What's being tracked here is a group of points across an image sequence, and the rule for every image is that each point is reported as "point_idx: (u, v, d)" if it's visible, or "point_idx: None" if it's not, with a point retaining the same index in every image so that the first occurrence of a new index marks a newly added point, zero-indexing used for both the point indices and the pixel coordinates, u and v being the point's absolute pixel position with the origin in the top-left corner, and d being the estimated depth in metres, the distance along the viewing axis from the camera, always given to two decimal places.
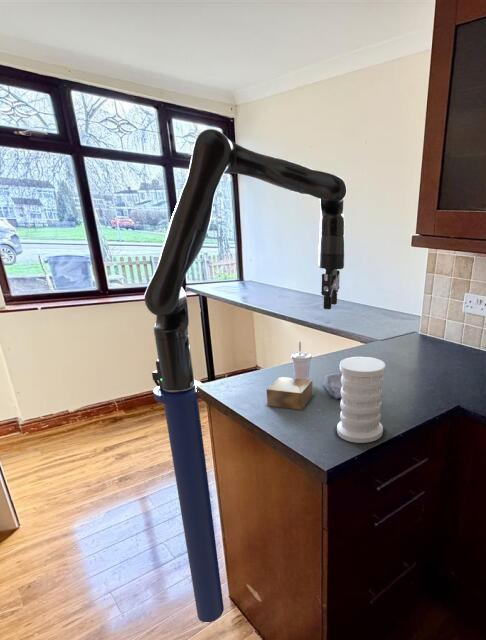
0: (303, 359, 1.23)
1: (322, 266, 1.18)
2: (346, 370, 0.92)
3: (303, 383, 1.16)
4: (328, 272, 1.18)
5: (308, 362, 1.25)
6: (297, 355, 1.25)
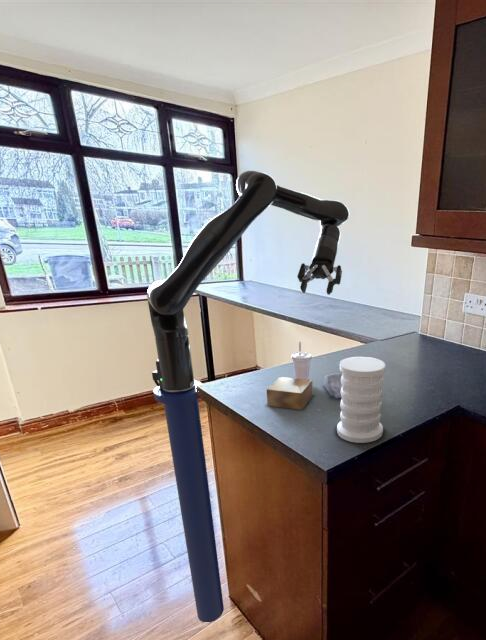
0: (303, 359, 1.23)
1: (330, 259, 1.34)
2: (346, 370, 0.92)
3: (303, 383, 1.16)
4: (332, 266, 1.35)
5: (308, 362, 1.25)
6: (297, 355, 1.25)
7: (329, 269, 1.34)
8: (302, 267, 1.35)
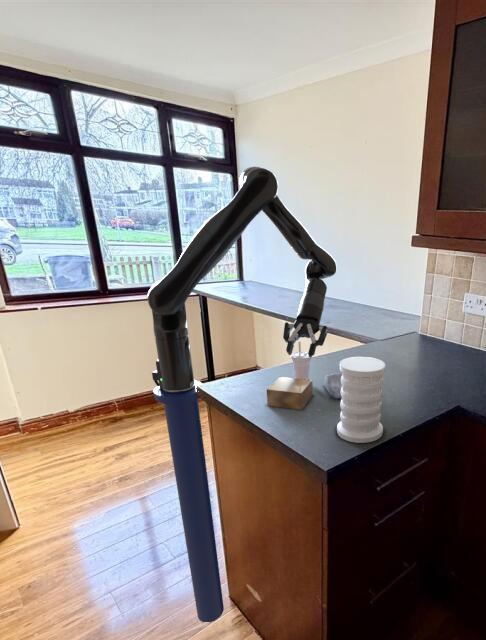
0: (303, 359, 1.23)
1: (316, 317, 1.26)
2: (346, 370, 0.92)
3: (303, 383, 1.16)
4: None
5: (308, 362, 1.25)
6: (297, 355, 1.25)
7: (315, 328, 1.26)
8: (286, 327, 1.27)
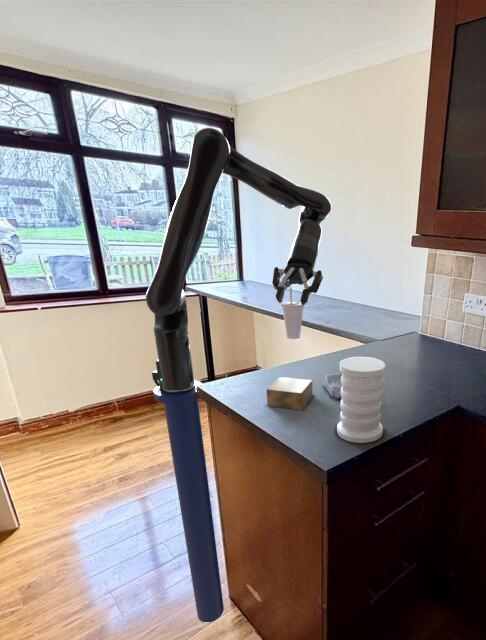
0: (294, 306, 1.09)
1: (310, 261, 1.12)
2: (346, 370, 0.92)
3: (303, 383, 1.16)
4: (312, 270, 1.13)
5: (300, 311, 1.11)
6: (288, 303, 1.11)
7: (308, 273, 1.12)
8: (276, 272, 1.13)
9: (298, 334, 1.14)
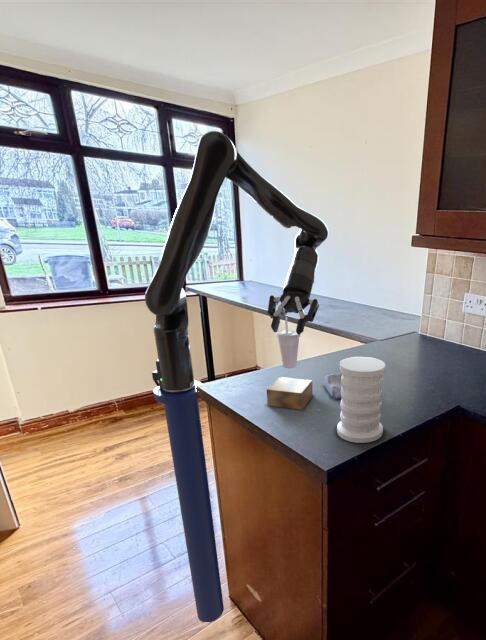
0: (290, 336, 1.07)
1: (306, 289, 1.10)
2: (346, 370, 0.92)
3: (303, 383, 1.16)
4: (308, 298, 1.11)
5: (296, 340, 1.09)
6: (283, 332, 1.09)
7: (304, 301, 1.10)
8: (271, 300, 1.11)
9: (294, 363, 1.12)
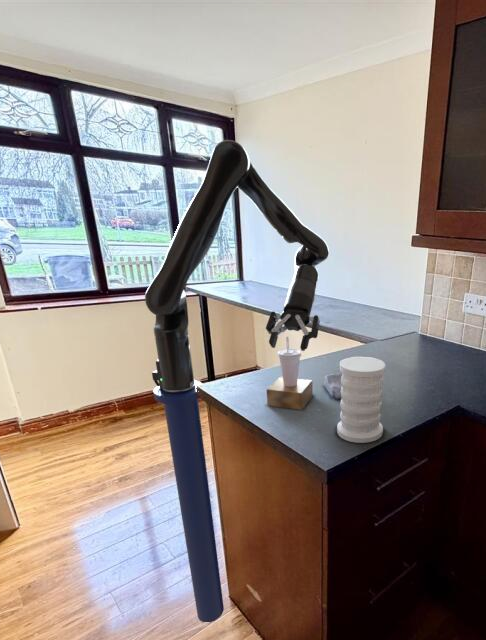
0: (291, 356, 1.09)
1: (306, 307, 1.12)
2: (346, 370, 0.92)
3: (303, 383, 1.16)
4: (308, 316, 1.13)
5: (297, 360, 1.11)
6: (284, 352, 1.11)
7: (304, 320, 1.12)
8: (272, 316, 1.13)
9: (295, 381, 1.14)
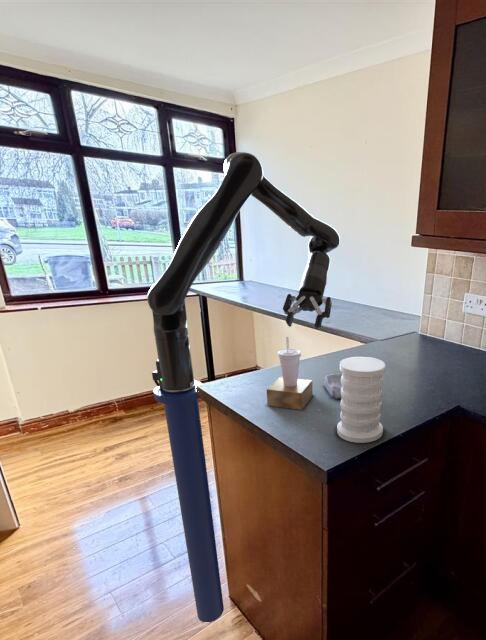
0: (291, 356, 1.09)
1: (319, 290, 1.23)
2: (346, 370, 0.92)
3: (303, 383, 1.16)
4: (321, 298, 1.24)
5: (297, 360, 1.11)
6: (284, 352, 1.11)
7: (318, 301, 1.22)
8: (288, 298, 1.24)
9: (295, 381, 1.14)
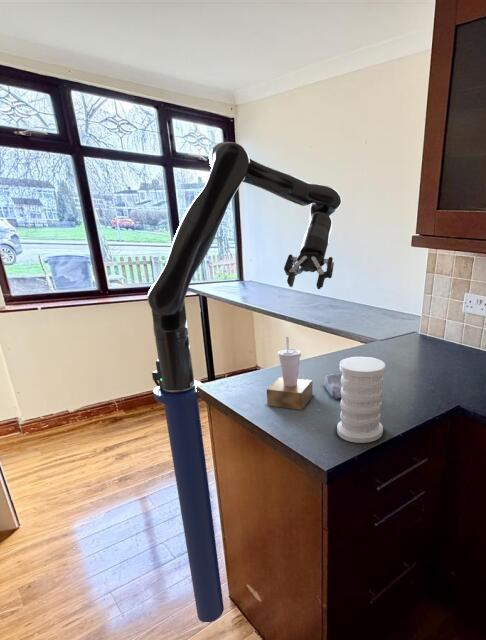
0: (291, 356, 1.09)
1: (321, 250, 1.21)
2: (346, 370, 0.92)
3: (303, 383, 1.16)
4: (323, 258, 1.22)
5: (297, 360, 1.11)
6: (284, 352, 1.11)
7: (319, 261, 1.20)
8: (289, 259, 1.21)
9: (295, 381, 1.14)
